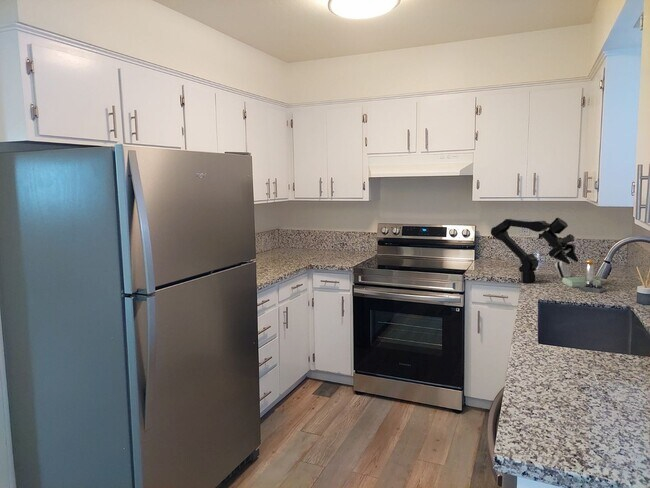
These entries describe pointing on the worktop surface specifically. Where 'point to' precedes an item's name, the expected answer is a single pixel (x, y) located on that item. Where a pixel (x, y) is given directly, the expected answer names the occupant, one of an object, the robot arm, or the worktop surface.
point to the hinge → (562, 270)
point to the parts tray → (578, 281)
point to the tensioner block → (593, 288)
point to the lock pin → (589, 273)
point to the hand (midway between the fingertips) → (573, 262)
